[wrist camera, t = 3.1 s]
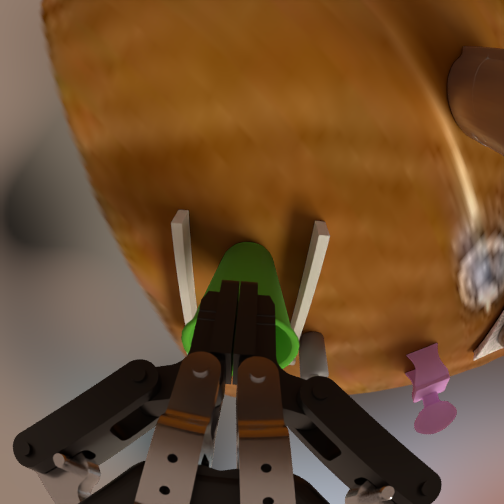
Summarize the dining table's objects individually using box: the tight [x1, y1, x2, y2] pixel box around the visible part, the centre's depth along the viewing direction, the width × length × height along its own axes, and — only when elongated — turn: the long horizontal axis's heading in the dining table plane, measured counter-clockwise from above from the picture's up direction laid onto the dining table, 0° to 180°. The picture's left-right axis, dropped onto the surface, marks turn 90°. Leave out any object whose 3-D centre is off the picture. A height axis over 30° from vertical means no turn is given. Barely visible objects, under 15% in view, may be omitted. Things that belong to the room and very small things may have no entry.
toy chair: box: [405, 343, 457, 434], centre depth 34 cm, size 8×9×15 cm
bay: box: [171, 210, 330, 380], centre depth 29 cm, size 20×18×7 cm
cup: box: [181, 242, 300, 376], centre depth 24 cm, size 9×9×11 cm
